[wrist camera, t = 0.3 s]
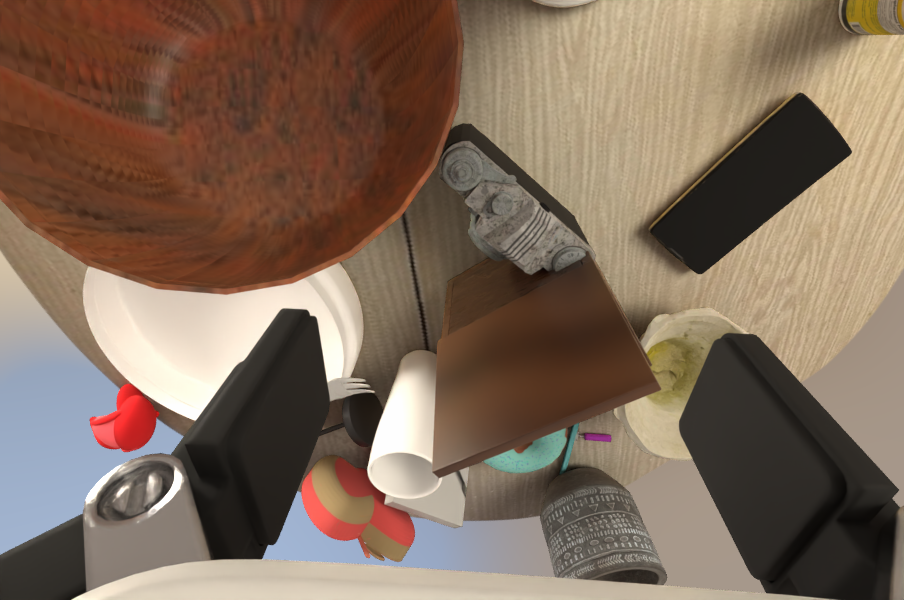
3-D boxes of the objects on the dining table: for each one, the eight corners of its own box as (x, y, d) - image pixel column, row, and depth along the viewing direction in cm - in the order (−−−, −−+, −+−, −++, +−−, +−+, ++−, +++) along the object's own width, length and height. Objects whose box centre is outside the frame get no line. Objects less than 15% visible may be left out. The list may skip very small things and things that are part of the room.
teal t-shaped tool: (594, 488, 59) (558, 485, 59) (593, 483, 60) (557, 480, 60) (623, 405, 51) (580, 402, 51) (621, 400, 52) (579, 397, 52)
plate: (374, 406, 54) (365, 440, 50) (165, 398, 55) (136, 431, 51) (348, 194, 40) (332, 215, 36) (69, 189, 41) (17, 208, 37)
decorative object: (389, 476, 62) (434, 544, 49) (374, 500, 61) (415, 575, 48) (309, 437, 56) (336, 503, 43) (291, 463, 55) (313, 538, 42)
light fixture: (249, 477, 62) (392, 427, 54) (212, 506, 56) (367, 456, 48) (228, 435, 62) (368, 379, 53) (188, 461, 55) (340, 402, 47)
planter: (604, 505, 64) (644, 606, 54) (524, 509, 62) (550, 614, 52) (634, 457, 56) (686, 563, 46) (544, 460, 55) (579, 571, 45)
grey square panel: (416, 410, 56) (401, 418, 58) (376, 489, 48) (360, 495, 50) (482, 463, 58) (465, 469, 61) (455, 548, 50) (436, 551, 53)
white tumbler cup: (382, 368, 51) (351, 479, 38) (415, 332, 48) (393, 438, 35) (429, 395, 53) (414, 509, 40) (463, 362, 50) (458, 473, 37)
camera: (415, 175, 39) (398, 213, 30) (463, 112, 36) (459, 135, 28) (533, 270, 43) (547, 327, 35) (585, 221, 40) (614, 270, 32)
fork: (215, 437, 48) (363, 377, 42) (224, 424, 50) (367, 364, 44) (231, 451, 49) (377, 394, 43) (239, 438, 51) (381, 382, 45)
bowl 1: (450, 283, 34) (473, 284, 23) (111, 298, 32) (-54, 307, 20) (436, -42, 33) (453, -211, 22) (84, -55, 31) (-106, -255, 19)
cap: (142, 435, 58) (180, 421, 58) (110, 466, 53) (152, 452, 52) (105, 387, 56) (145, 372, 55) (67, 415, 50) (111, 399, 50)
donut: (453, 436, 56) (452, 462, 53) (492, 372, 50) (494, 396, 47) (536, 463, 58) (540, 489, 55) (583, 404, 52) (590, 429, 49)
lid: (662, 390, 22) (657, 380, 21) (439, 479, 26) (431, 472, 26) (597, 267, 31) (592, 259, 31) (442, 346, 36) (437, 340, 35)
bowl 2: (765, 321, 45) (832, 388, 37) (677, 409, 52) (717, 482, 44) (644, 268, 43) (686, 325, 34) (569, 367, 50) (588, 435, 41)
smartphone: (857, 150, 35) (699, 277, 42) (846, 147, 36) (694, 272, 43) (805, 88, 33) (647, 233, 40) (796, 87, 34) (643, 228, 41)
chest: (618, 301, 45) (653, 365, 36) (505, 356, 49) (511, 425, 41) (568, 211, 40) (593, 260, 31) (447, 281, 45) (440, 340, 36)
